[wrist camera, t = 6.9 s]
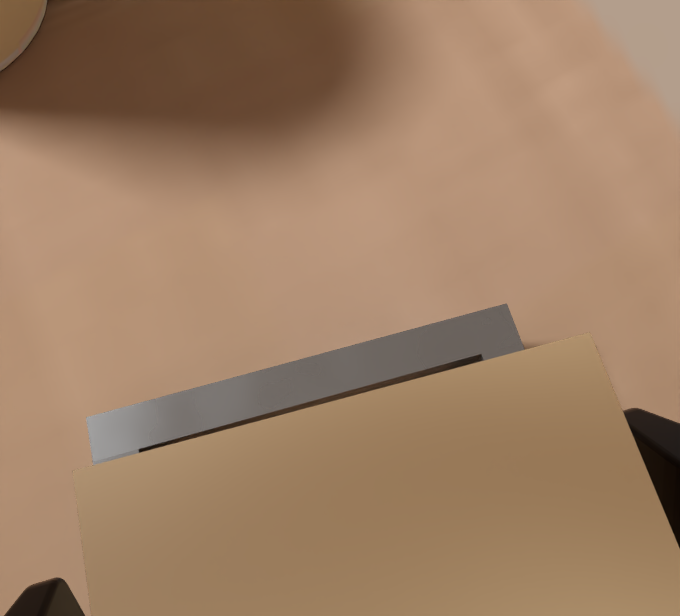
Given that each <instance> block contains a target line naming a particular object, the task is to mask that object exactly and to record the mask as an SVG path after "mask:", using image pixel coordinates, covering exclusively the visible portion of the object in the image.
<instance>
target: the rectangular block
mask: <svg viewBox="0 0 680 616" xmlns="http://www.w3.org/2000/svg"><path fill="white" fill-rule="evenodd" d="M72 473H73V481H74V488H75V496H76V504H77V511H78V519H79V526H80V534H81V542H82V549H83V557H84V564H85V572H86V580H87V587H88V595H89V602H90V610H91V616H680V548H679V546H678V543H677V541H676V539H675V536H674V534H673V531H672V529H671V527H670V524H669V522H668V519H667V517H666V515H665V512H664V510H663V507H662V505H661V502H660V500H659V498H658V495H657V493H656V490H655V488H654V486H653V483H652V481H651V478H650V476H649V473H648V471H647V469H646V466H645V464H644V461H643V459H642V457H641V454H640V452H639V449H638V447H637V444H636V442H635V440H634V437H633V435H632V432H631V430H630V428H629V425H628V423H627V420H626V418H625V416H624V413H623V411H622V408H621V406H620V403H619V401H618V399H617V396H616V394H615V391H614V389H613V387H612V384H611V382H610V379H609V377H608V374H607V372H606V370H605V367H604V365H603V362H602V360H601V358H600V355H599V353H598V350H597V348H596V346H595V343H594V341H593V338H592V336H591V333H590V332H589V333H585V334H582V335H578V336H574V337H570V338H567V339H563V340H559V341H555V342H552V343H548V344H544V345H541V346H537V347H533V348H529V349H526V350H522V351H518V352H514V353H511V354H507V355H503V356H499V357H496V358H492V359H488V360H484V361H481V362H477V363H473V364H470V365H466V366H462V367H458V368H455V369H451V370H447V371H443V372H440V373H436V374H432V375H428V376H425V377H421V378H417V379H413V380H410V381H406V382H402V383H399V384H395V385H391V386H387V387H384V388H380V389H376V390H372V391H369V392H365V393H361V394H357V395H354V396H350V397H346V398H342V399H339V400H335V401H331V402H328V403H324V404H320V405H316V406H313V407H309V408H305V409H301V410H298V411H294V412H290V413H286V414H283V415H279V416H275V417H271V418H268V419H264V420H260V421H257V422H253V423H249V424H245V425H242V426H238V427H234V428H230V429H227V430H223V431H219V432H215V433H212V434H208V435H204V436H200V437H197V438H193V439H189V440H186V441H182V442H178V443H174V444H171V445H167V446H163V447H159V448H156V449H152V450H148V451H144V452H141V453H137V454H133V455H129V456H126V457H122V458H118V459H115V460H111V461H107V462H103V463H100V464H96V465H92V466H88V467H85V468H81V469H77V470H73V471H72Z"/></svg>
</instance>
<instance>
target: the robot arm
mask: <svg viewBox="0 0 680 616" xmlns="http://www.w3.org/2000/svg"><path fill="white" fill-rule="evenodd" d="M623 413H624V416H625V418H626V420H627V423H628V425H629V428H630V430H631V432H632V435H633V437H634V440H635V442H636V444H637V447H638V449H639V452H640V454H641V457H642V459H643V461H644V464H645V466H646V469H647V471H648V473H649V476H650V478H651V481H652V483H653V486H654V488H655V490H656V493H657V495H658V498H659V500H660V502H661V505H662V507H663V510H664V512H665V515H666V517H667V519H668V522H669V524H670V527H671V529H672V531H673V534H674V536H675V539H676V541H677V543H678V546H679V548H680V423H677V422H674V421H672V420H669V419H666V418H664V417H661V416H658V415H656V414H653V413H650V412H647V411H645V410H642V409H638V408H631V409H627V410H624V411H623ZM4 616H85V615H84V613H83V611H82V609H81V608H80V606H79V604H78V602H77V600H76V599H75V597H74V595H73V593H72V592H71V590H70V588H69V586H68V584H67V583H66V582H65V581H64V580H63V579H62V578H53V579H49V580H46V581H42V582H39V583H36V584H33V585H31V586H29V587H27V588H26V589H25V590H24V591H23V593H22V594H21V595H20V596H19V598H18V599H17V600H16V601H15V603H14V604H13V605H12V606H11V608H10V609H9V610H8V611H7V613H6V614H5V615H4Z"/></svg>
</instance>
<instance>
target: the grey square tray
mask: <svg viewBox="0 0 680 616" xmlns="http://www.w3.org/2000/svg"><path fill="white" fill-rule="evenodd" d="M522 350H525V349H524V347H523V344H522V342H521V339H520V337H519V334H518V331H517V329H516V326H515V324H514V321H513V318H512V316H511V313H510V311H509V308H508V305H507V304H503V305H499V306H496V307H492V308H488V309H485V310H481V311H477V312H474V313H470V314H466V315H463V316H459V317H455V318H451V319H448V320H444V321H440V322H437V323H433V324H429V325H426V326H422V327H418V328H415V329H411V330H407V331H403V332H400V333H396V334H392V335H389V336H385V337H381V338H378V339H374V340H370V341H367V342H363V343H359V344H355V345H352V346H348V347H344V348H341V349H337V350H333V351H330V352H326V353H322V354H319V355H315V356H311V357H307V358H304V359H300V360H296V361H293V362H289V363H285V364H282V365H278V366H274V367H271V368H267V369H263V370H259V371H256V372H252V373H248V374H245V375H241V376H237V377H234V378H230V379H226V380H223V381H219V382H215V383H211V384H208V385H204V386H200V387H197V388H193V389H189V390H186V391H182V392H178V393H175V394H171V395H167V396H163V397H160V398H156V399H152V400H149V401H145V402H141V403H138V404H134V405H130V406H127V407H123V408H119V409H115V410H112V411H108V412H104V413H101V414H97V415H93V416H90V417H86V420H87V426H88V433H89V439H90V446H91V452H92V459H93V465H96V464H100V463H103V462H107V461H111V460H115V459H118V458H122V457H126V456H129V455H133V454H137V453H141V452H144V451H148V450H152V449H156V448H159V447H163V446H167V445H171V444H174V443H178V442H182V441H186V440H189V439H193V438H197V437H200V436H204V435H208V434H212V433H215V432H219V431H223V430H227V429H230V428H234V427H238V426H242V425H245V424H249V423H253V422H257V421H260V420H264V419H268V418H271V417H275V416H279V415H283V414H286V413H290V412H294V411H298V410H301V409H305V408H309V407H313V406H316V405H320V404H324V403H328V402H331V401H335V400H339V399H342V398H346V397H350V396H354V395H357V394H361V393H365V392H369V391H372V390H376V389H380V388H384V387H387V386H391V385H395V384H399V383H402V382H406V381H410V380H413V379H417V378H421V377H425V376H428V375H432V374H436V373H440V372H443V371H447V370H451V369H455V368H458V367H462V366H466V365H470V364H473V363H477V362H481V361H484V360H488V359H492V358H496V357H499V356H503V355H507V354H511V353H514V352H518V351H522Z"/></svg>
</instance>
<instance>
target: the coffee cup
mask: <svg viewBox="0 0 680 616" xmlns="http://www.w3.org/2000/svg"><path fill="white" fill-rule="evenodd" d="M46 5H47V0H0V71H1V70H3V69H4V68H6V67H7V66H8V65H9V64H10V63H11V62H13V61H14V60H15V59H16V58H17V57H18V56H19V55H20V54H21V53H22V52H23V51H24V50H25V49H26V47H27V46H28V45H29V44H30V42H31V40H32V39H33V37H34V36H35V34H36V33H37V31H38V29H39V27H40V25H41V22H42V20H43V17H44V15H45V10H46Z"/></svg>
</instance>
